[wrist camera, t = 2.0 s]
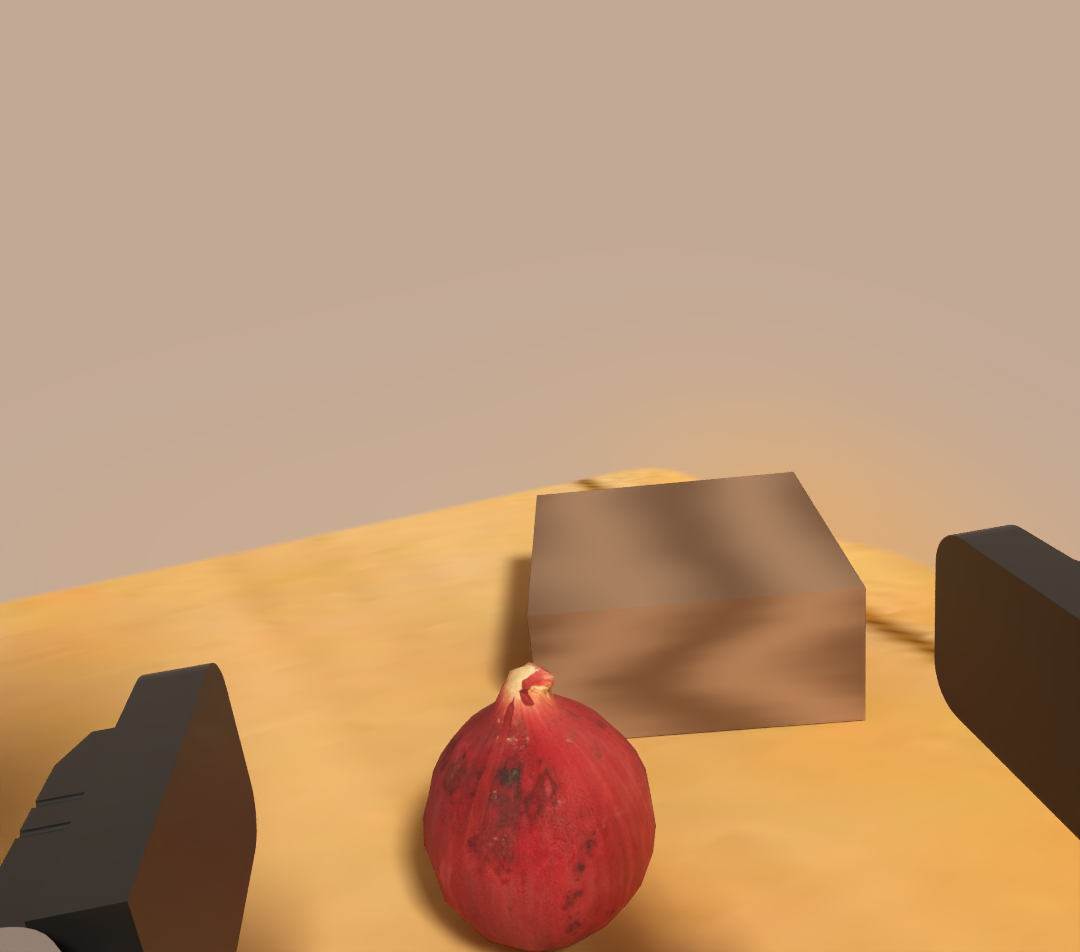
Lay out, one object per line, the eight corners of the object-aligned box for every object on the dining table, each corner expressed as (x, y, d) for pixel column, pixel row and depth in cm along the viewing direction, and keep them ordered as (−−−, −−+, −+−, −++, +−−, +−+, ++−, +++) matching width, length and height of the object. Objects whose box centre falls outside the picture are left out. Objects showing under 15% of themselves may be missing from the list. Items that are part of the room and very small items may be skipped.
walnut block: (543, 744, 34) (526, 616, 33) (549, 598, 45) (536, 495, 43) (865, 719, 34) (865, 587, 32) (795, 577, 44) (793, 472, 42)
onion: (627, 1054, 23) (596, 763, 20) (407, 998, 25) (352, 728, 22) (686, 876, 28) (667, 624, 25) (498, 842, 30) (463, 606, 27)
